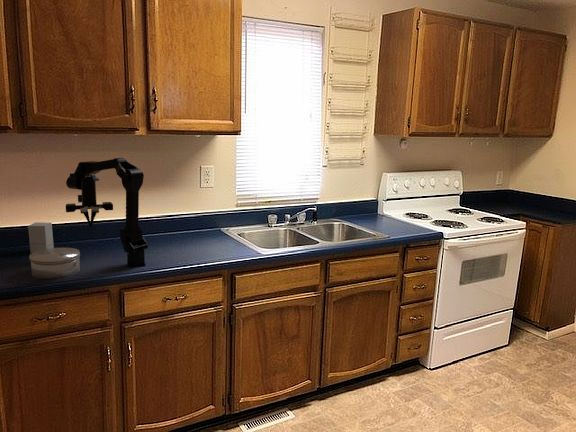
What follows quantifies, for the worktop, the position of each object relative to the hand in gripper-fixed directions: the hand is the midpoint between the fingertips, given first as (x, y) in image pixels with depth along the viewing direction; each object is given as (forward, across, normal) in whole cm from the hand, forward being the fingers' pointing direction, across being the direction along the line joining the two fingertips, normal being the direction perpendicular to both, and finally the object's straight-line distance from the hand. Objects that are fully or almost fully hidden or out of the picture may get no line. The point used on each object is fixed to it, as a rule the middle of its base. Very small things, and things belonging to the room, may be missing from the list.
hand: (90, 226), depth 206 cm
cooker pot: (+13, +14, +15) cm, 24 cm away
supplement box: (+13, +20, -14) cm, 28 cm away
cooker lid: (+7, +14, +19) cm, 25 cm away
